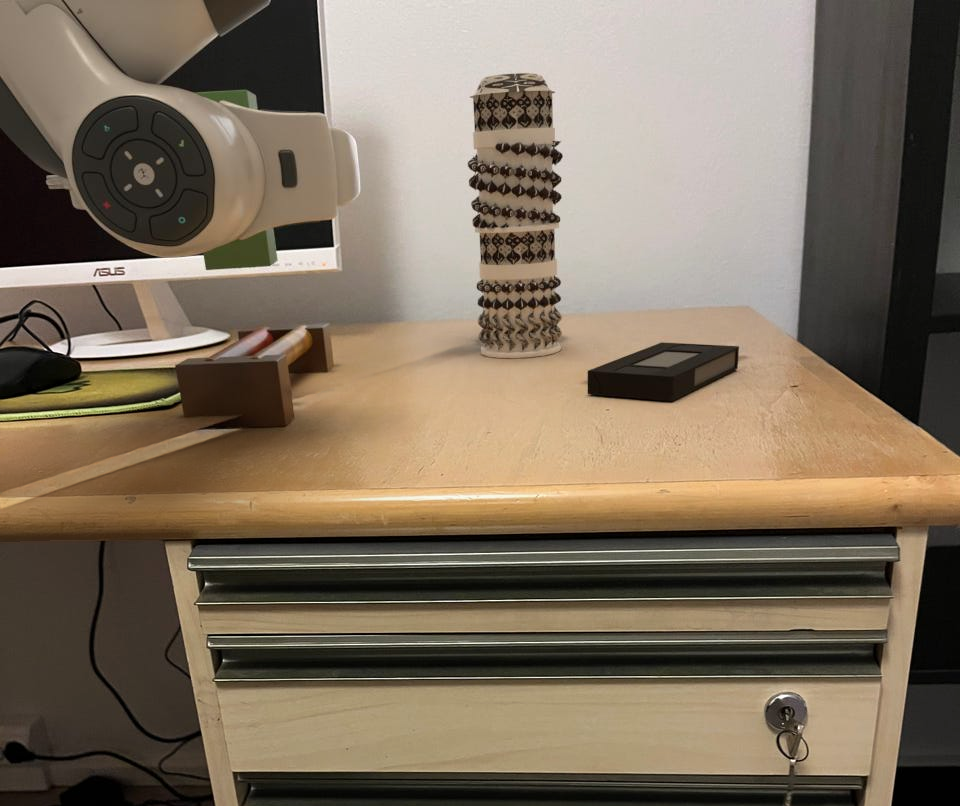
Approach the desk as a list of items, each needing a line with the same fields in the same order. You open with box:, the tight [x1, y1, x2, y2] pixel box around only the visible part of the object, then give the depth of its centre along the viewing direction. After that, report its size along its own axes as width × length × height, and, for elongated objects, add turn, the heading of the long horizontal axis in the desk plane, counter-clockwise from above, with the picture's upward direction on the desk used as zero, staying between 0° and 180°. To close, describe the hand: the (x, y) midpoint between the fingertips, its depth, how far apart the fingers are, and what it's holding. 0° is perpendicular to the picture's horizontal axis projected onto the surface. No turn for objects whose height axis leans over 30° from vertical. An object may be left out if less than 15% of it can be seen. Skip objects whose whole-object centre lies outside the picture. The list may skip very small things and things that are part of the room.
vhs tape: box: [587, 341, 740, 402], centre depth 84 cm, size 8×14×2 cm, turn 146°
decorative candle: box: [467, 72, 564, 359], centre depth 97 cm, size 9×9×25 cm
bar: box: [194, 89, 278, 271], centre depth 76 cm, size 5×5×12 cm
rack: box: [174, 322, 335, 430], centre depth 85 cm, size 8×20×5 cm, turn 177°
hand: (231, 174), depth 77 cm, fingers closed on bar, 5 cm apart
